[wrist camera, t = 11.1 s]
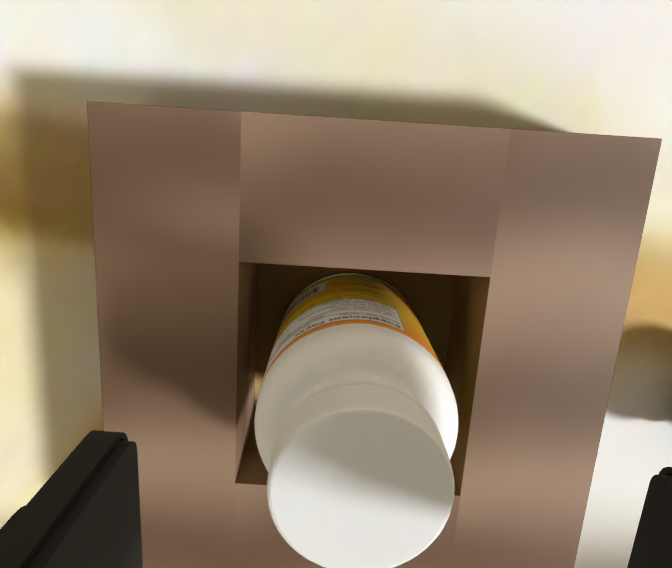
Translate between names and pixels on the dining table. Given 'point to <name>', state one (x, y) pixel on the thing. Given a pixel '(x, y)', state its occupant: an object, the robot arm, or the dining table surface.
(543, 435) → the collar block
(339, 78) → the dining table surface
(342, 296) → the supplement bottle
